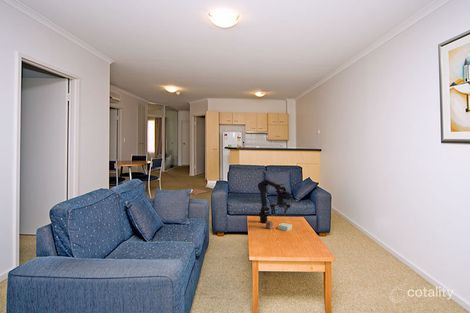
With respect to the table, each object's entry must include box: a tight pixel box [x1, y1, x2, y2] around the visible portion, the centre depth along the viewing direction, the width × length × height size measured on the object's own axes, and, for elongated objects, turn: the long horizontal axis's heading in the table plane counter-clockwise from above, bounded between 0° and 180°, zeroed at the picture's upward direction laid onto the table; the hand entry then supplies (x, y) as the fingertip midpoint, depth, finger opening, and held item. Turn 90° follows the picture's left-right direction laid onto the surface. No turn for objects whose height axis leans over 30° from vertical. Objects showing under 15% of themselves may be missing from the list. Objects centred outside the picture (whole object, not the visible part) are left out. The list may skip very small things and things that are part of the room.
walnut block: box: [265, 220, 274, 230], centre depth 236 cm, size 4×4×6 cm
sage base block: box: [277, 222, 293, 232], centre depth 236 cm, size 9×9×4 cm
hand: (279, 214), depth 238 cm, fingers open, 9 cm apart
